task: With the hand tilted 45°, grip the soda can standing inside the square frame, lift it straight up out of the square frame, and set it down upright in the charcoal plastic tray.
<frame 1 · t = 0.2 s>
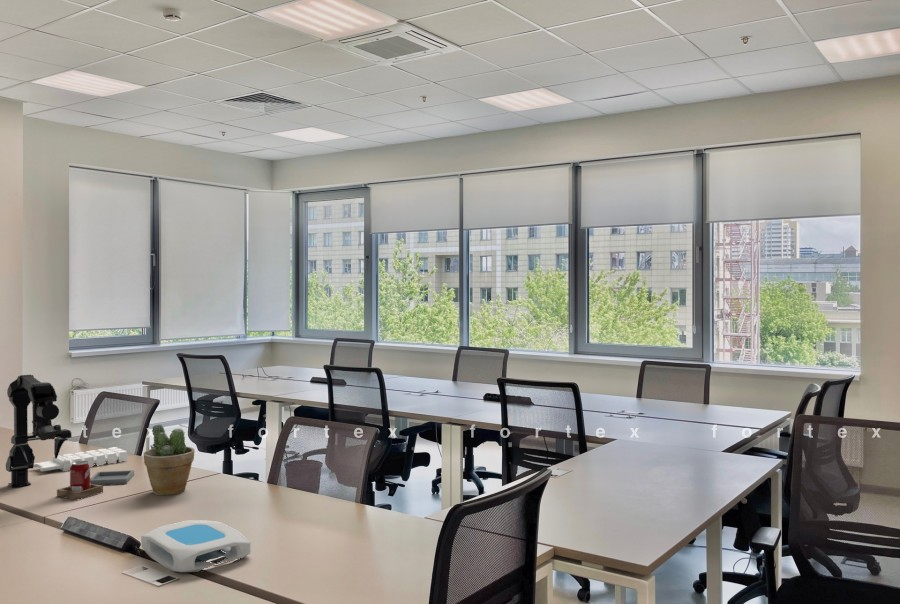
hand: (42, 460, 268), 14 cm above the table, tool pointing down, fingers open, 9 cm apart
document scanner: (195, 555, 214), on the table
soda can: (80, 494, 275), resting in square frame
tray: (111, 480, 296), on the table
potted plant: (169, 492, 280), on the table
square frame: (80, 494, 275), on the table
organizer: (80, 466, 320), on the table
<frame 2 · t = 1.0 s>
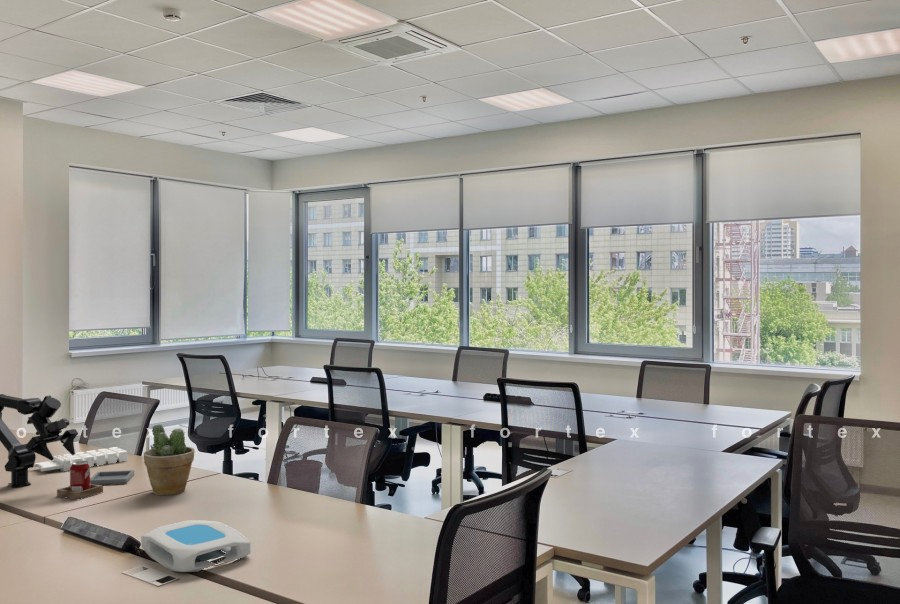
hand: (63, 457, 278), 13 cm above the table, tool tilted 45°, fingers open, 9 cm apart
nothing on the table moved.
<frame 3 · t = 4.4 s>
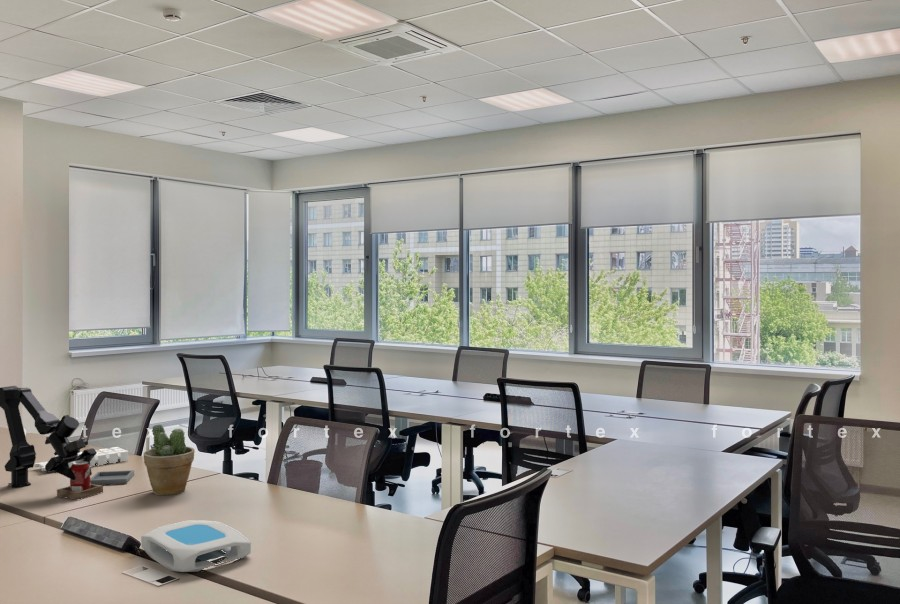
hand: (82, 477, 275), 7 cm above the table, tool tilted 45°, fingers closed on soda can, 7 cm apart
soda can: (80, 494, 275), resting in square frame, touching gripper
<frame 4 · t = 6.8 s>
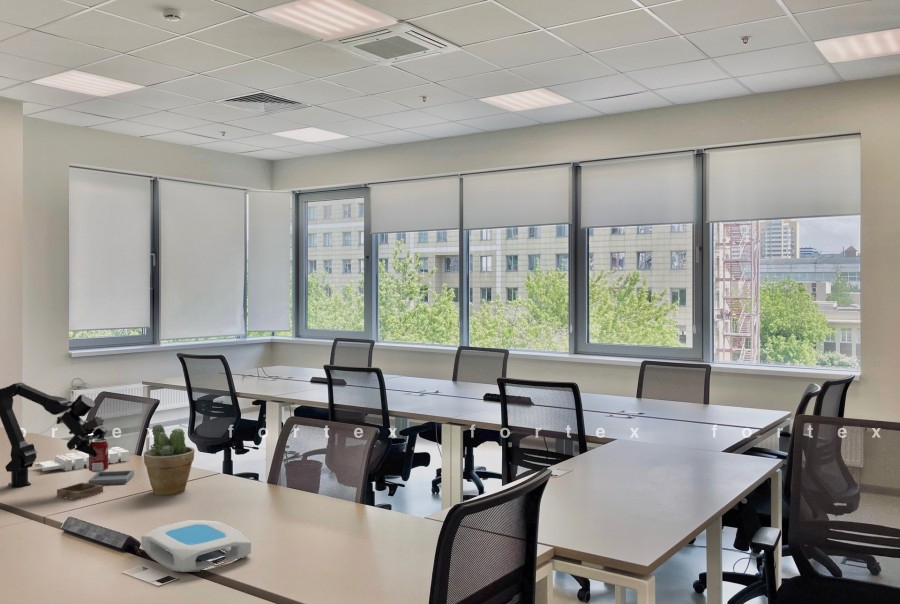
hand: (101, 453, 284), 13 cm above the table, tool tilted 45°, fingers closed on soda can, 7 cm apart
soda can: (98, 471, 284), point 6 cm above the table, touching gripper
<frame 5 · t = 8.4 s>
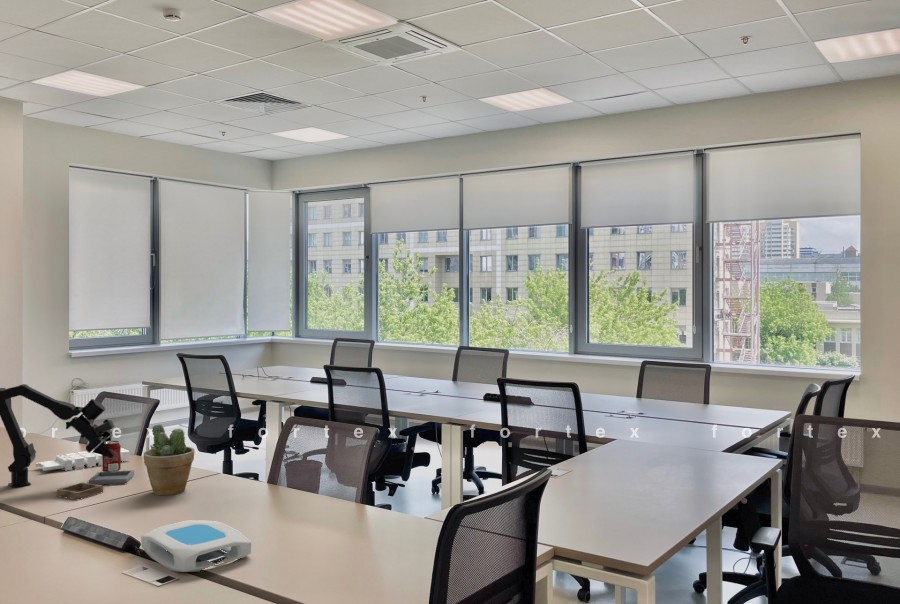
hand: (115, 455, 296), 10 cm above the table, tool tilted 45°, fingers closed on soda can, 7 cm apart
soda can: (111, 472, 296), point 3 cm above the table, touching gripper
when the fingers open (8 cm above the table, at t = 9.7 s): soda can drops 1 cm, resting on tray.
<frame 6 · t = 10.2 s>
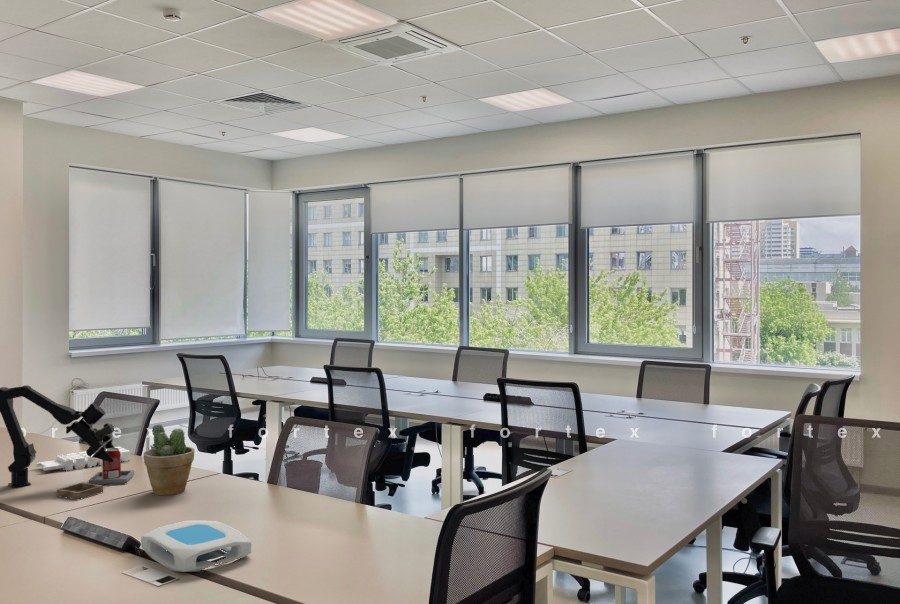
hand: (115, 458, 296), 9 cm above the table, tool tilted 45°, fingers open, 9 cm apart
soda can: (111, 479, 296), resting on tray
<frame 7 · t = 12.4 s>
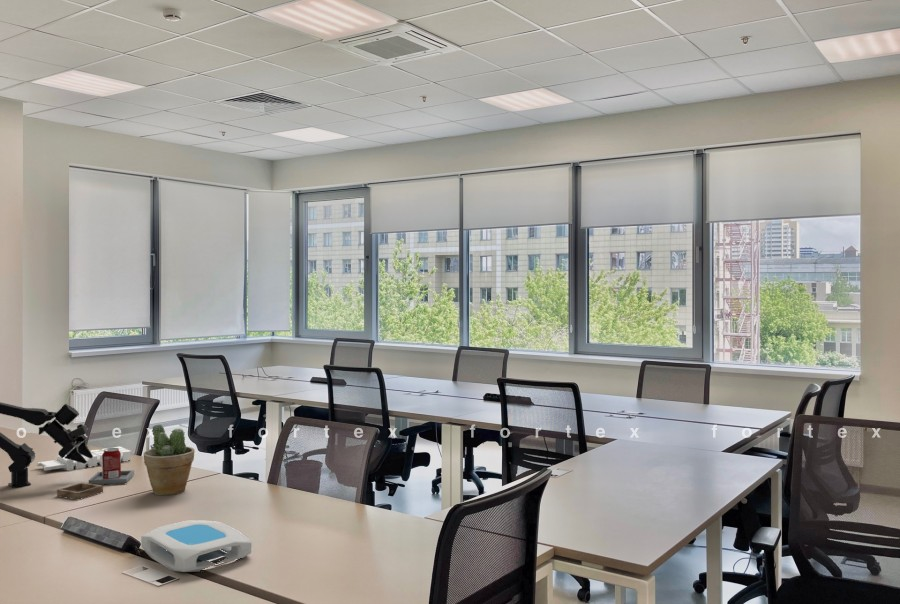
hand: (89, 460, 294), 9 cm above the table, tool tilted 45°, fingers open, 9 cm apart
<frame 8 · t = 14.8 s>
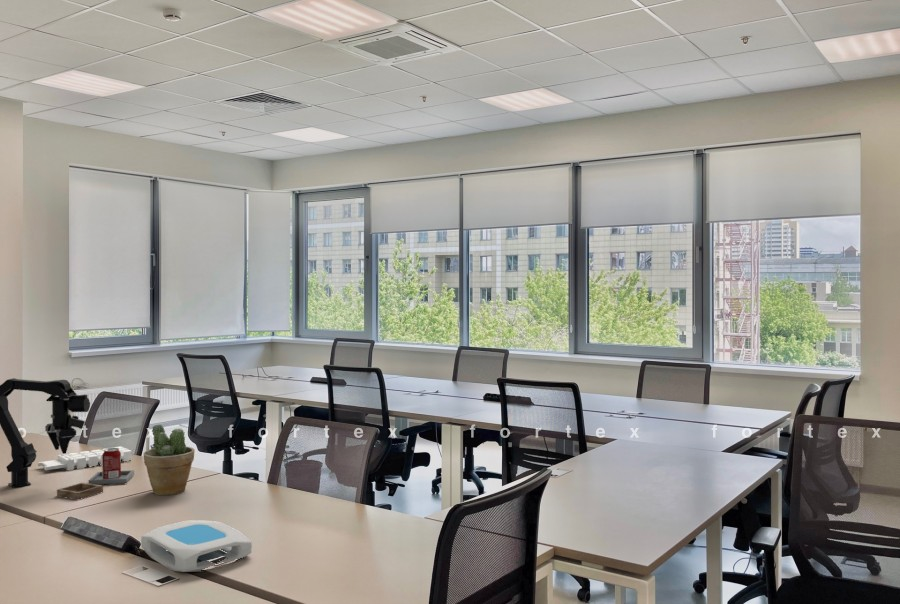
hand: (60, 451, 289), 13 cm above the table, tool pointing down, fingers open, 9 cm apart
at the end: soda can inside the target area on the tray (0.1 cm from its centre), point 0.3 cm above the tray's base; soda can tilted 0°; the gripper is holding nothing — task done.
